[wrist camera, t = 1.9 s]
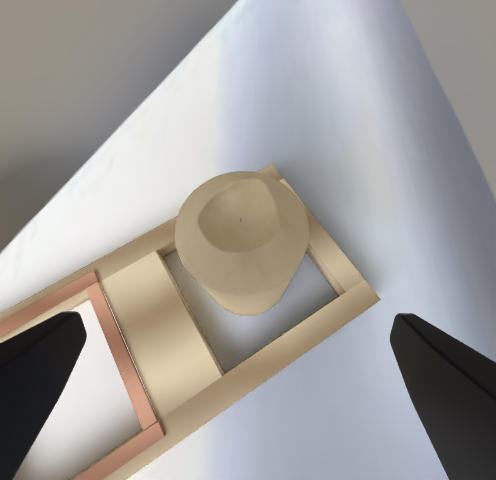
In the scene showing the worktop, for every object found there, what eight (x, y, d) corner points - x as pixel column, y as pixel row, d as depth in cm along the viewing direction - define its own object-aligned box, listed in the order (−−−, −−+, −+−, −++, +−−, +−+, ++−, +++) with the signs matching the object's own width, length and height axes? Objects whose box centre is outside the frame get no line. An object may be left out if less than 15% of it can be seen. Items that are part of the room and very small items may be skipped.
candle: (237, 226, 20) (221, 128, 11) (301, 264, 19) (344, 191, 10) (193, 287, 19) (131, 232, 10) (259, 333, 18) (262, 322, 8)
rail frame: (371, 302, 18) (382, 299, 17) (-3, 566, 14) (-36, 594, 12) (271, 175, 22) (272, 162, 20) (-47, 352, 18) (-77, 353, 16)
